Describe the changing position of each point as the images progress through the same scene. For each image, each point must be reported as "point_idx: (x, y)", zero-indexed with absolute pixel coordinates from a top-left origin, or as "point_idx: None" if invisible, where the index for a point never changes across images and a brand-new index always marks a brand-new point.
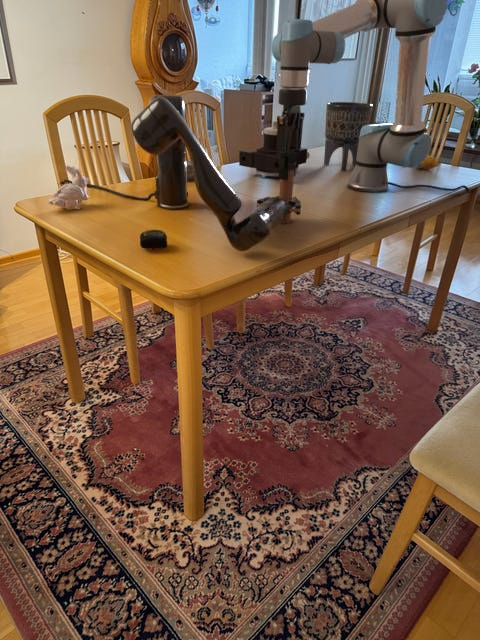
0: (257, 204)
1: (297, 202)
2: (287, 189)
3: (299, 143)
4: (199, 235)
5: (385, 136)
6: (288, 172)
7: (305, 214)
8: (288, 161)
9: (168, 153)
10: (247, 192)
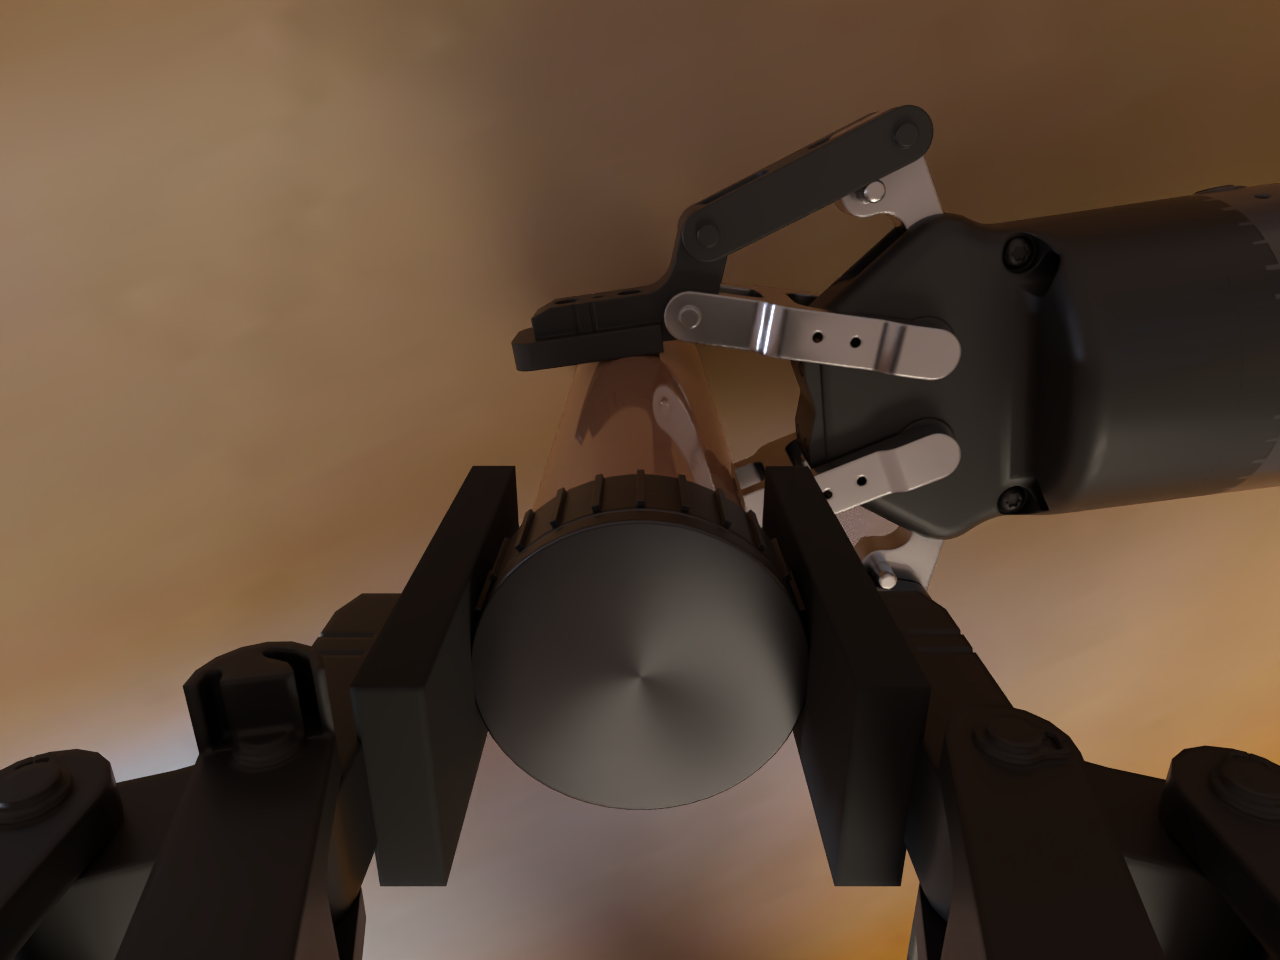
0: None
1: (773, 216)
2: (718, 425)
3: (4, 914)
4: (1255, 723)
5: None
6: None
7: (322, 279)
8: (877, 617)
9: None
10: None
